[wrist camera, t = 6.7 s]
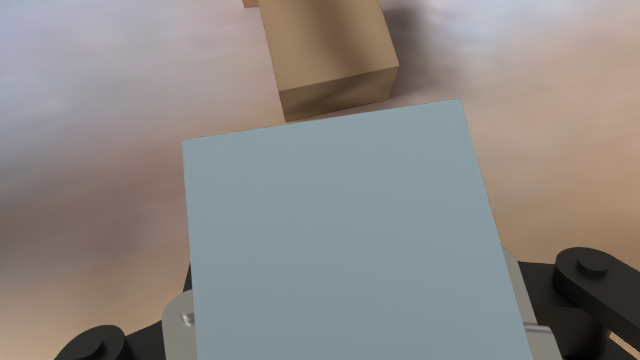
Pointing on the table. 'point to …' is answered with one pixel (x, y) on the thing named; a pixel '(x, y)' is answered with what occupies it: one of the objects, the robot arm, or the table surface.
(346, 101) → the base block
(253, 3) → the terracotta block
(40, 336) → the table surface
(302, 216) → the blue block
